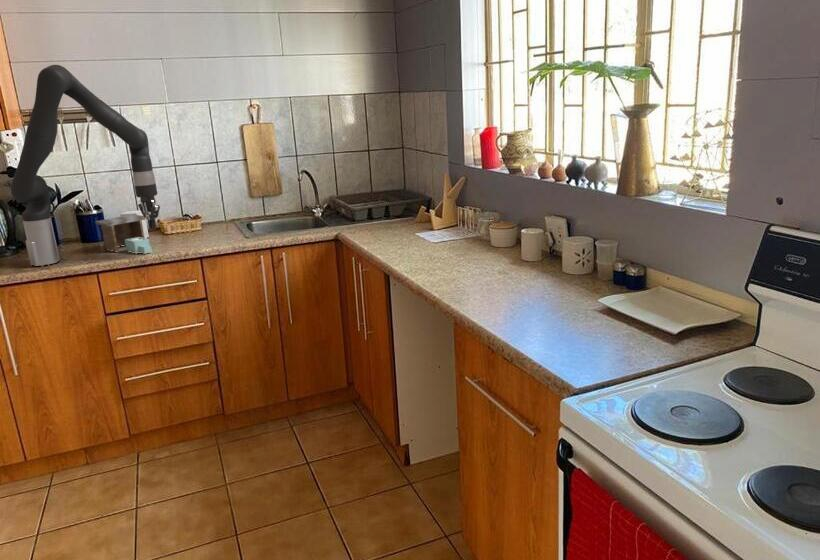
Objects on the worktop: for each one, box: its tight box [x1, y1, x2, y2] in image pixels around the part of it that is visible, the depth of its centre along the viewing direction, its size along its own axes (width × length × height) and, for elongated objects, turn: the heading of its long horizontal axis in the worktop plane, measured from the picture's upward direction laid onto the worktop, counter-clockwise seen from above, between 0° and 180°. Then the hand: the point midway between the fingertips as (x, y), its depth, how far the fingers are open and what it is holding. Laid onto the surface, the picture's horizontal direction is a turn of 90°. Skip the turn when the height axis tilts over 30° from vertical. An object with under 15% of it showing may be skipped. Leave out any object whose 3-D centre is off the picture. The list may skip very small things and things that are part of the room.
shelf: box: [94, 215, 147, 252], centre depth 267 cm, size 16×10×12 cm, turn 138°
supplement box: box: [119, 209, 150, 238], centre depth 281 cm, size 7×7×13 cm
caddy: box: [125, 237, 153, 253], centre depth 259 cm, size 12×6×5 cm, turn 48°
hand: (152, 229), depth 249 cm, fingers closed
